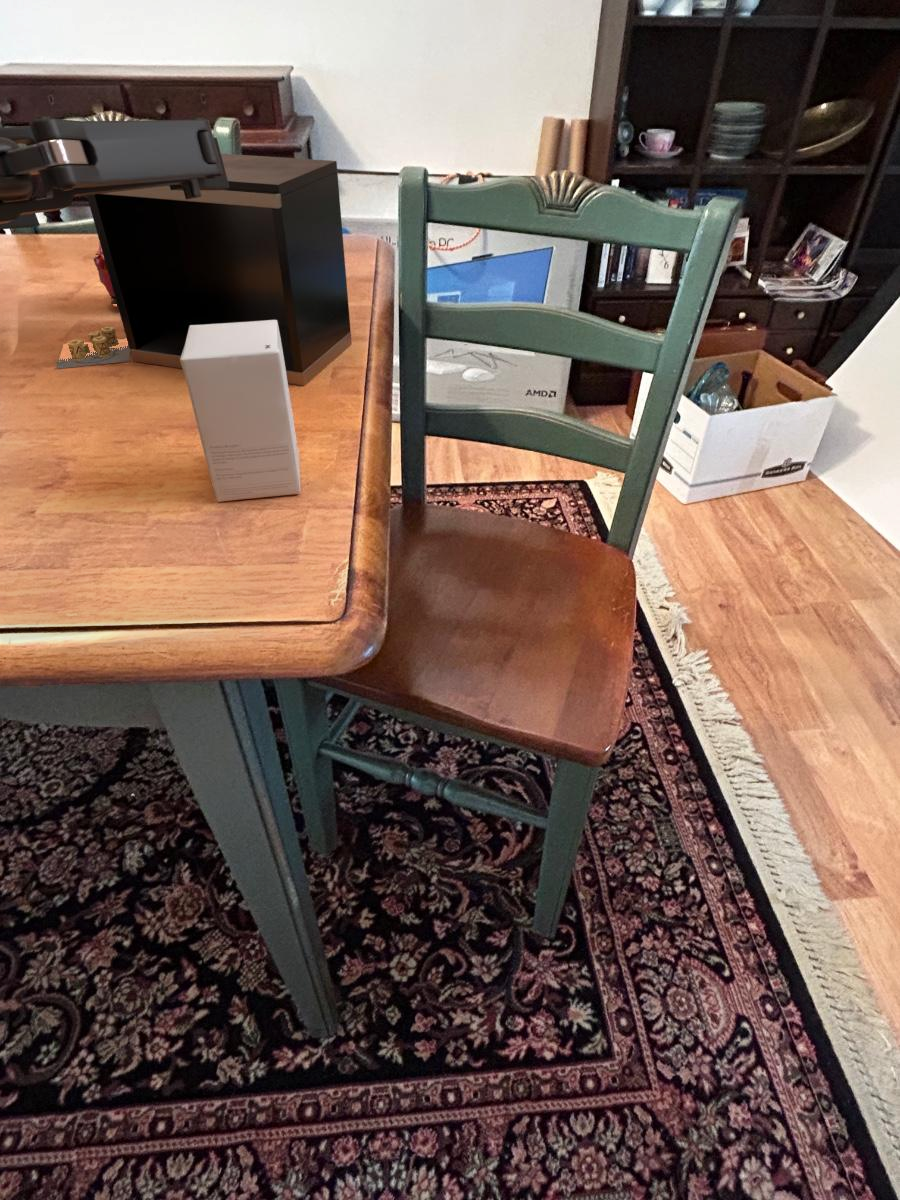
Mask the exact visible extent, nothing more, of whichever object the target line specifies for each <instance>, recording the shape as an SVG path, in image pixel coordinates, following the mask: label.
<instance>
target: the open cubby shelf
mask: <svg viewBox="0 0 900 1200" xmlns="http://www.w3.org/2000/svg"><path fill="white" fill-rule="evenodd" d="M221 156H222V160H223V164H224V168H225V172H226V176H227V179H228V183H229V187H230V188H229V189H224V190H200V192H201V197H198V198H193V199H187V200H186V198H185V194H184V191H183V190H171V189H170V186H161V187H152V188H144V189H135V190H127V191H118V192H110V193H101V194H93V195H86V198H87V201H88V205H89V206H88V207H89V209H90V212H91V217H92V219H93V223H94V227H95V231H96V233H97V239H98V241H99V243H100V245H101V248H102V252H103V256H104V259H105V263H106V266H107V270H108V273H109V277H110V281H111V284H112V288H113V291H114V295H115V298H116V302H117V306H118V307H117V309H118V313H119V316H120V319H121V323H122V326H123V330H124V334H125V338H127V341H128V345H129V348H130V356H131V359H132V362H135V363H141V364H148V365H156V366H162V367H169V368H175V369H176V368H177V369H182V370H183V368H182V365H181V362H180V358H181V355H182V352H183V349H184V345H185V342H186V339H187V335H188V330H189V326H190V325H206V324H221V323H237V322H252V321H265V320H277V322H278V327H279V332H280V338H281V344H282V350H283V356H284V362H285V368H286V375H287V382H288V385H293V386H302V387H305V386H306V385H307V384H308V383H309V382H310V381H311V380H313V379H314V378H315V377H316V376H317V375H319V373H321V372H322V371H323V370H324V369H326V367H327V366H329V365H330V364H331V363H332V362H333V361H334V360H336V359H337V358H338V357H339V356H340V355H341V354H343V352H345V351H346V350H347V349H348V348H349V347H350V346H352V344H353V343H352V341H353V340H352V332H351V322H350V320H351V318H350V308H349V305H350V304H349V296H348V282H347V271H346V270H347V269H346V260H345V247H344V245H345V244H344V236H343V235H344V234H343V223H342V221H343V220H342V211H341V199H340V197H341V196H340V187H339V186H340V185H339V176H338V175H339V174H338V163H337V160H328V159H313V158H312V159H311V158H295V157H282V156H281V157H279V156H264V155H250V154H249V155H248V154H234V153H233V154H232V153H221Z"/></svg>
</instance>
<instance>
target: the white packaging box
mask: <svg viewBox="0 0 900 1200" xmlns="http://www.w3.org/2000/svg"><path fill="white" fill-rule="evenodd" d="M180 362H181V365H182V368H183V369H182V368H181V369H182V371H183V375H184V378H185V382H186V386H187V390H188V393H189V398H190V403H191V406H192V410H193V414H194V418H195V422H196V426H197V430H198V435H199V438H200V443H201V446H202V452H203V454H204V458H205V459H204V460H205V462H206V466H207V471H208V474H209V477H210V482H211V486H212V490H213V493H214V496H215V499H216V502H217V503H221V502H229V501H240V500H250V499H259V498H269V497H270V498H271V497H281V496H291V495H300V494H301V492H302V491H301V466H300V452H299V446H298V440H297V434H296V428H295V422H294V416H293V407H292V402H291V396H290V389H289V384H288V382H287V375H286V368H285V362H284V356H283V350H282V344H281V338H280V332H279V327H278V322H277V320H265V321H252V322H237V323H221V324H206V325H190V326H189V330H188V335H187V339H186V342H185V345H184V349H183V352H182V355H181V358H180Z"/></svg>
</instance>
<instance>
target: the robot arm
mask: <svg viewBox="0 0 900 1200" xmlns="http://www.w3.org/2000/svg"><path fill="white" fill-rule="evenodd" d="M19 144H21V145H22V144H23V145H26V146H22V147H21V146H20V145H19ZM220 149H221V148H220V145H219V141H218V138H217V137H214V134H213V131H212V127H211V124H210V120H209V119H207V118H201V117H193V118H191V119H148V120H147V119H146V120H145V119H144V120H142V119H139V120H73V119H61V118H50V115H49V116H48V115H42V116H38V117H36V119H32V120H31V121H30V122H28V125H19V126H17V125H16V126H4V127H3V126H2V127H0V230H10V229H12V230H13V229H26V228H27V229H28V228H29V229H30V228H35V227H40V226H41V225H40V221H39V219H38V216H37V214H39V213H41V214H42V213H47V212H48V213H49V212H56V211H61V210H63V209H66V208H68V207H70V206H71V205H72V203H73V200H74V198H75V197H76V198H77V197H82V196H87V195H93V194H101V193H110V192H118V191H127V190H135V189H144V188H152V187H161V186H170V189H171V190H183V191H184V194H185V198H186V200H187V199H193V198H198V197H201V192H200V190H224V189H229V188H230V187H229V183H228V179H227V176H226V172H225V168H224V164H223V160H222V156H221V154H222V153H221V150H220ZM33 175H39V176H40V179H41V181H42V182H41V183H43V187H44V190H45V193H46V197H39V198H31V197H32V195H33V192H34V179H33Z"/></svg>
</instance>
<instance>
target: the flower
mask: <svg viewBox="0 0 900 1200" xmlns="http://www.w3.org/2000/svg"><path fill="white" fill-rule="evenodd" d="M92 259H93V262H94V265H95V267H96V270H97V271H98V277H99V282H100V283H101V284H102V285H103V286H104V287H105V289H106V292H108V295H109V298H110V299H111V305H112V304H117V302H116V298H115V295H114V291H113V288H112V284H111V281H110V277H109V273H108V270H107V266H106V263H105V259H104V256H103V252H102V248H101V245H100V242H99V243H98V250H97V251H96V252H95V256H94V257H93V258H92Z"/></svg>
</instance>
